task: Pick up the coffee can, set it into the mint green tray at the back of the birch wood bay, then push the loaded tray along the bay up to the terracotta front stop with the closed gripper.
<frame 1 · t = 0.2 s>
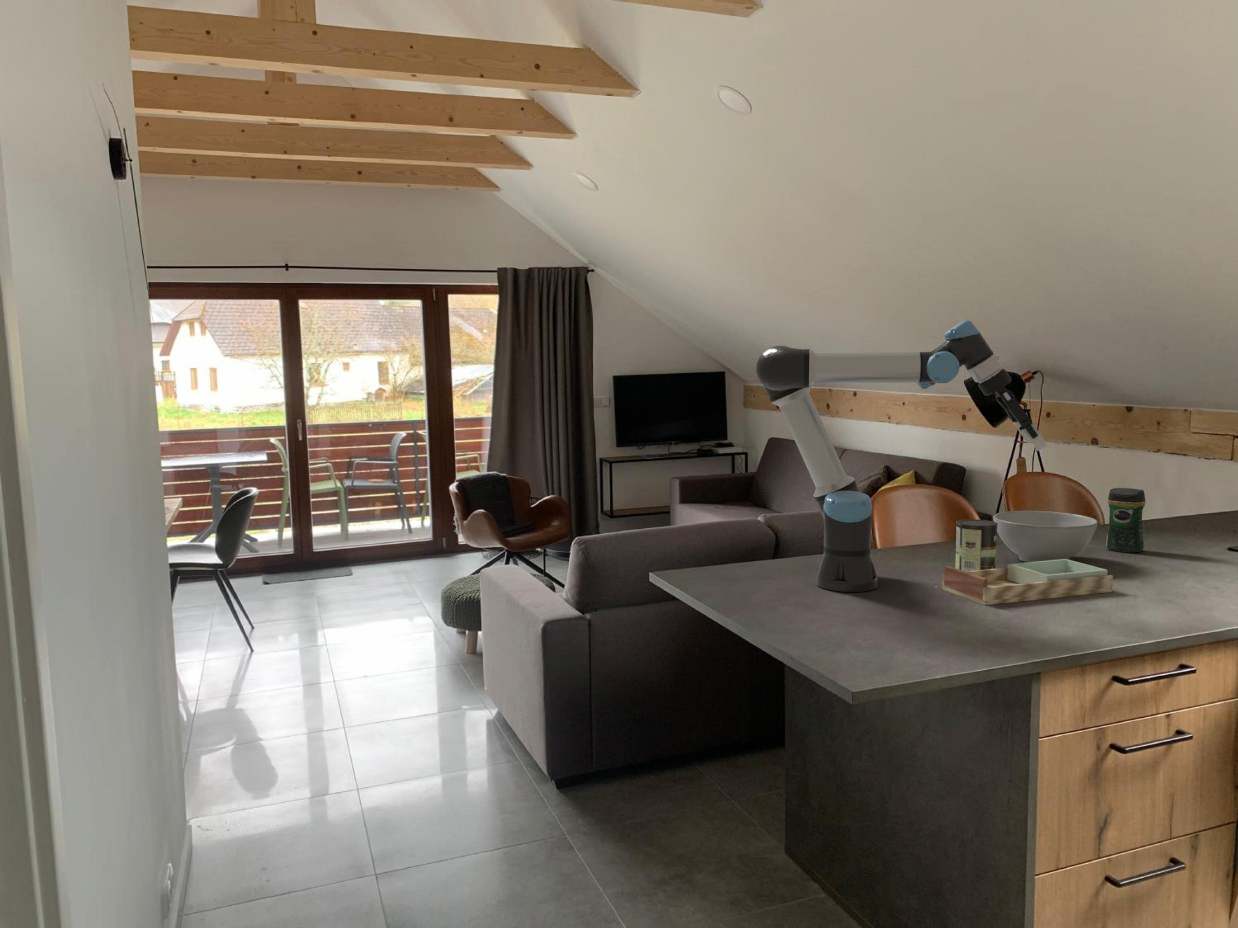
hand: (1037, 444, 236), 35 cm above the countertop, tool tilted 35°, fingers open, 13 cm apart
decorative bowl: (1042, 561, 262), on the countertop
coffee jar: (1124, 550, 274), on the countertop
bay: (1026, 590, 229), on the countertop
mint green tray: (1056, 574, 231), point 3 cm above the countertop, slide at 0.0 cm
coffee can: (975, 575, 246), on the countertop
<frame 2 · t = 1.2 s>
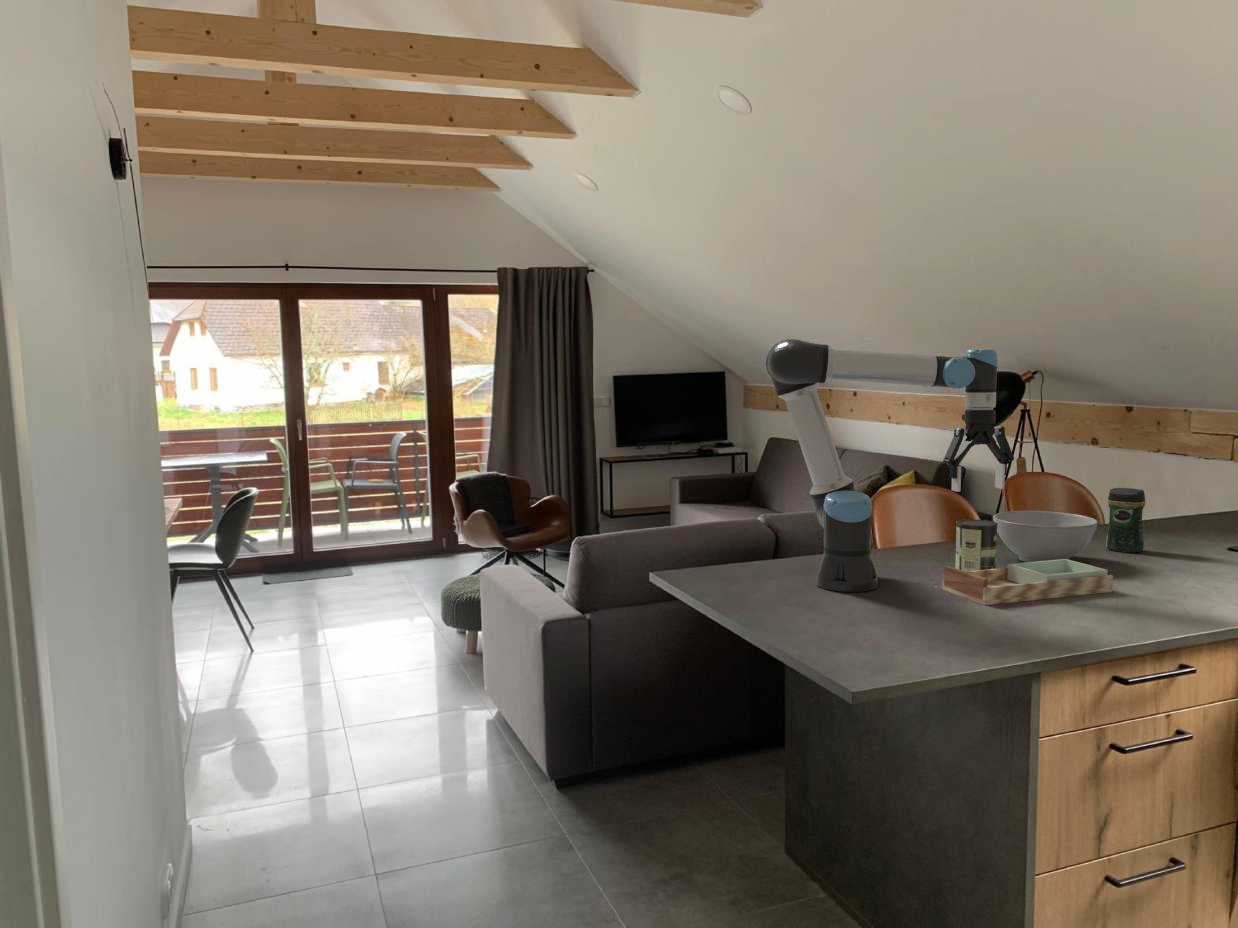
hand: (977, 489, 243), 23 cm above the countertop, tool pointing down, fingers open, 13 cm apart
nothing on the countertop moved.
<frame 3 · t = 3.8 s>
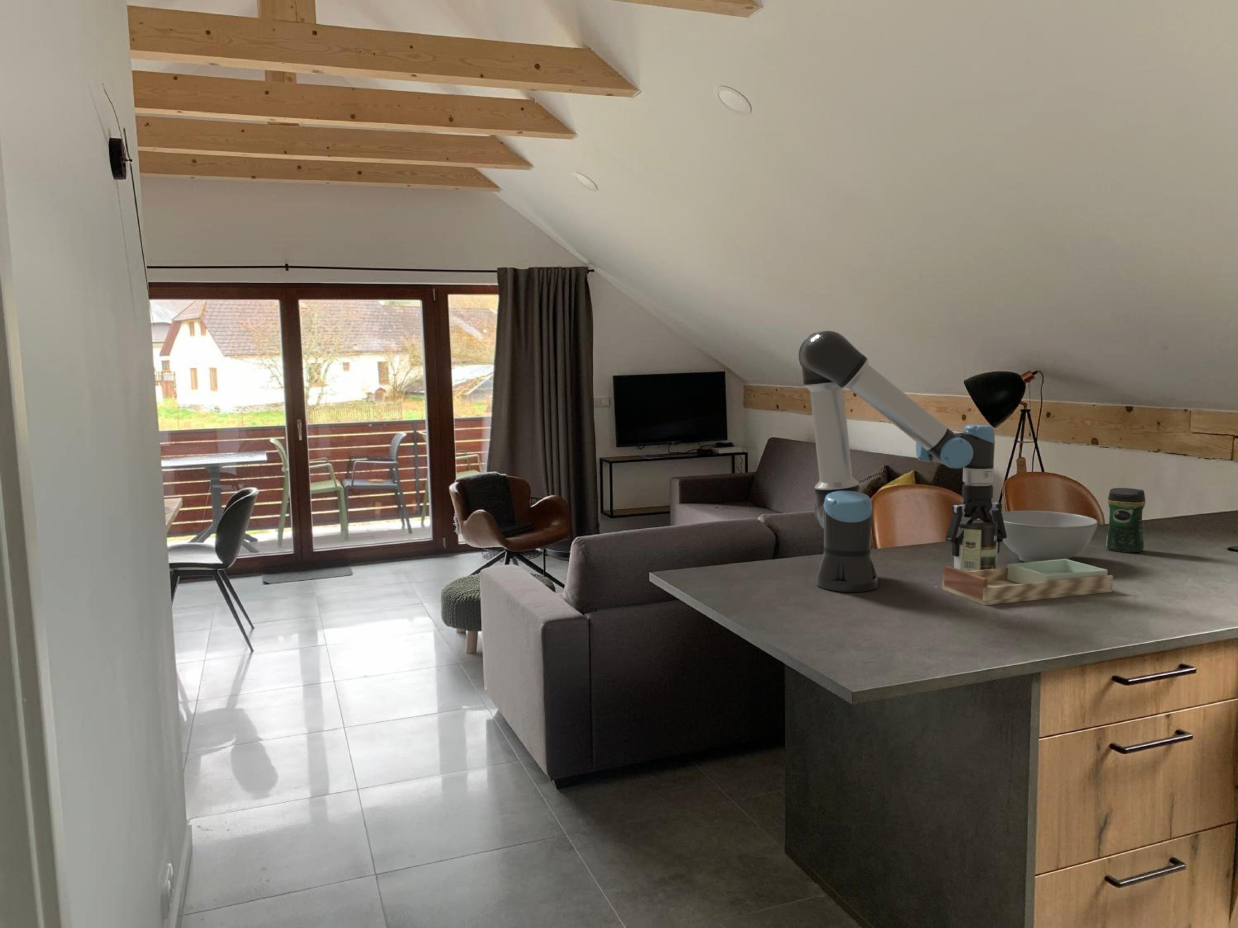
hand: (975, 566, 246), 2 cm above the countertop, tool pointing down, fingers closed on coffee can, 10 cm apart
coffee can: (975, 575, 246), on the countertop, touching gripper
everything else where it was.
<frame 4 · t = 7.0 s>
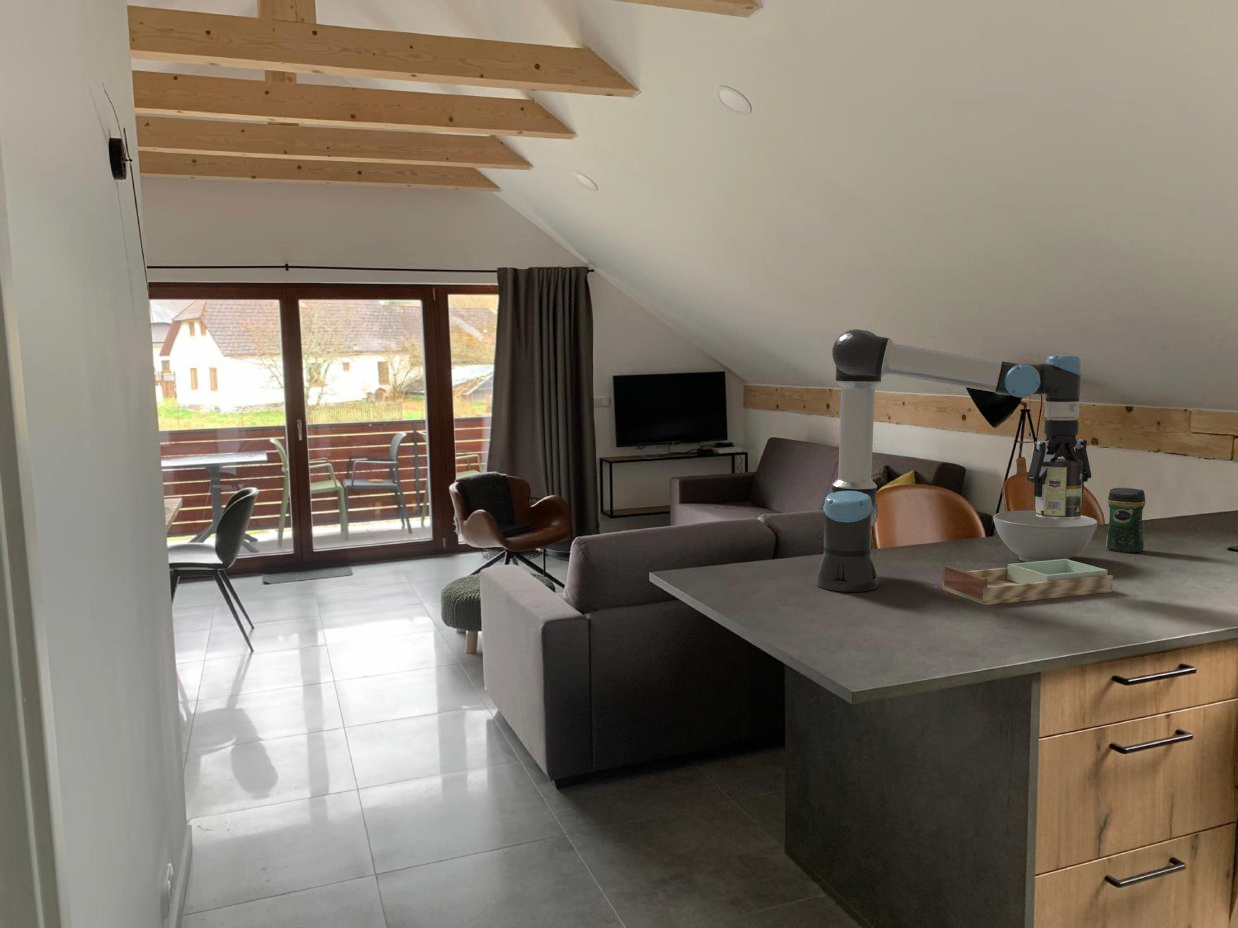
hand: (1058, 508, 229), 20 cm above the countertop, tool pointing down, fingers closed on coffee can, 10 cm apart
coffee can: (1057, 517, 229), point 18 cm above the countertop, touching gripper
everything else where it was.
when the fingers open (6 cm above the countertop, at t = 10.2 s): coffee can drops 1 cm, resting on mint green tray.
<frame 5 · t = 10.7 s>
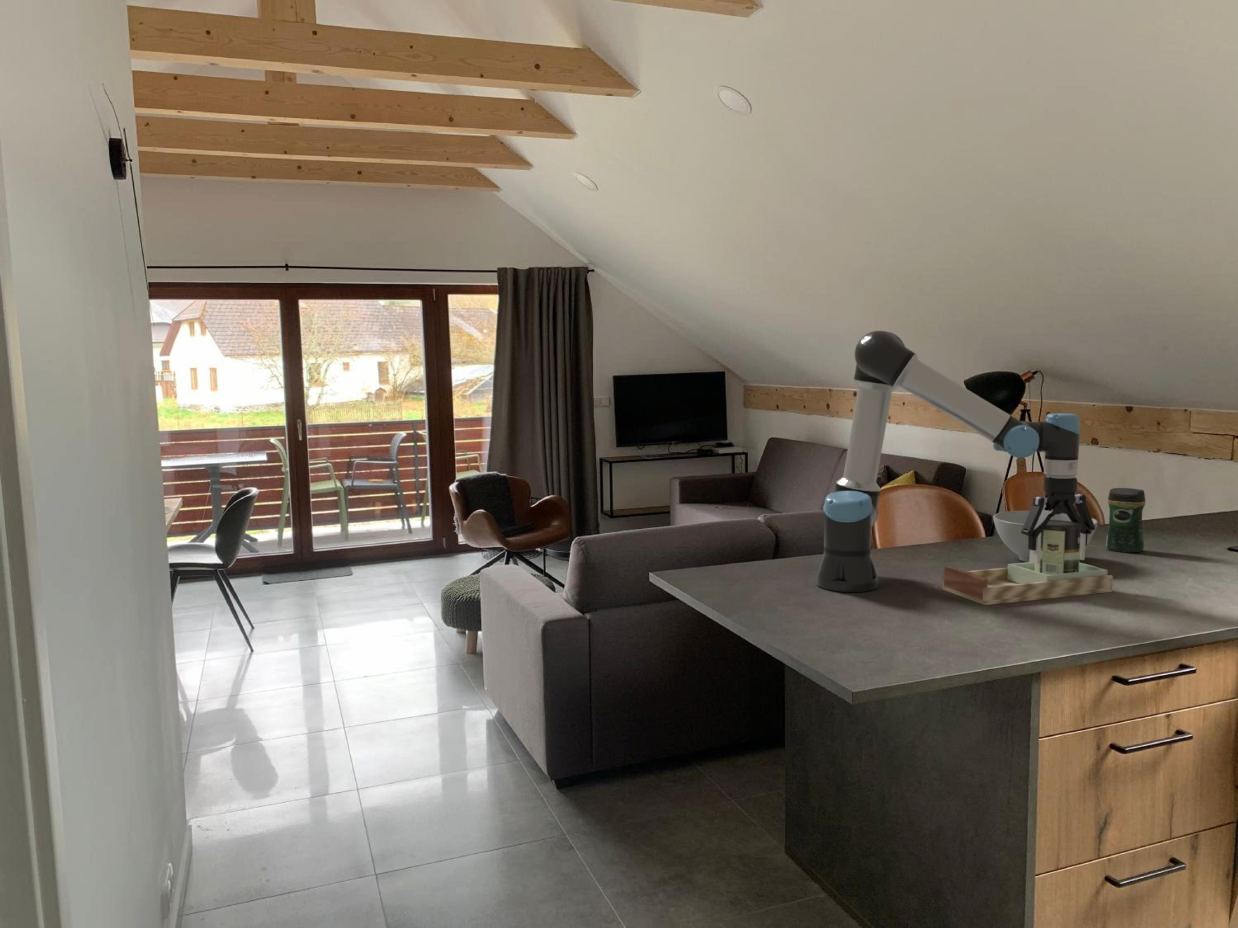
hand: (1057, 561, 230), 7 cm above the countertop, tool pointing down, fingers open, 13 cm apart
mint green tray: (1056, 574, 231), point 3 cm above the countertop, slide at 0.0 cm, touching coffee can
coffee can: (1055, 579, 231), point 2 cm above the countertop, touching mint green tray
everything else where it was.
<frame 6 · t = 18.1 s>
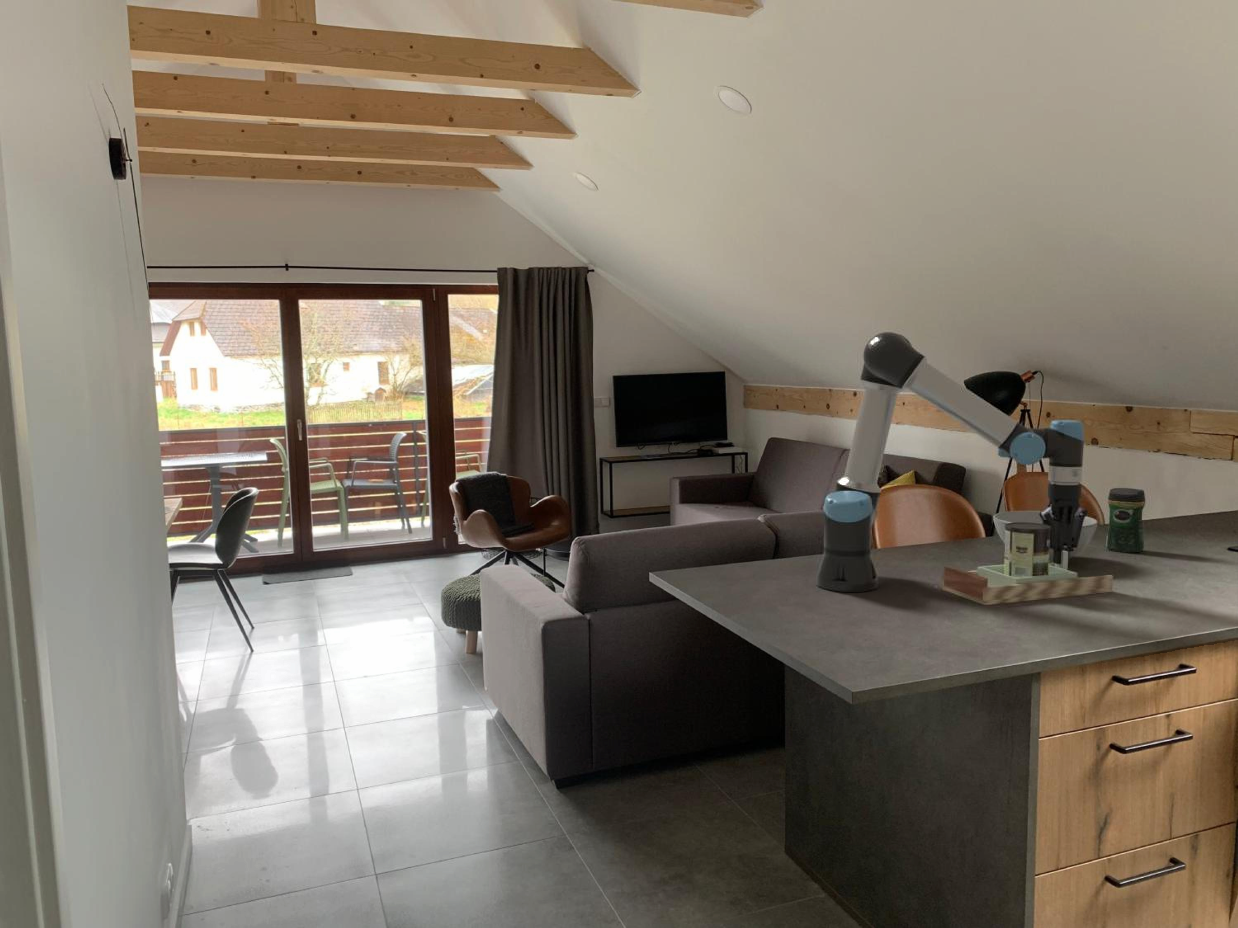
hand: (1060, 576, 231), 3 cm above the countertop, tool pointing down, fingers closed
mint green tray: (1026, 577, 228), point 3 cm above the countertop, slide at 9.2 cm, touching coffee can
coffee can: (1025, 582, 228), point 2 cm above the countertop, touching mint green tray, hand
everything else where it was.
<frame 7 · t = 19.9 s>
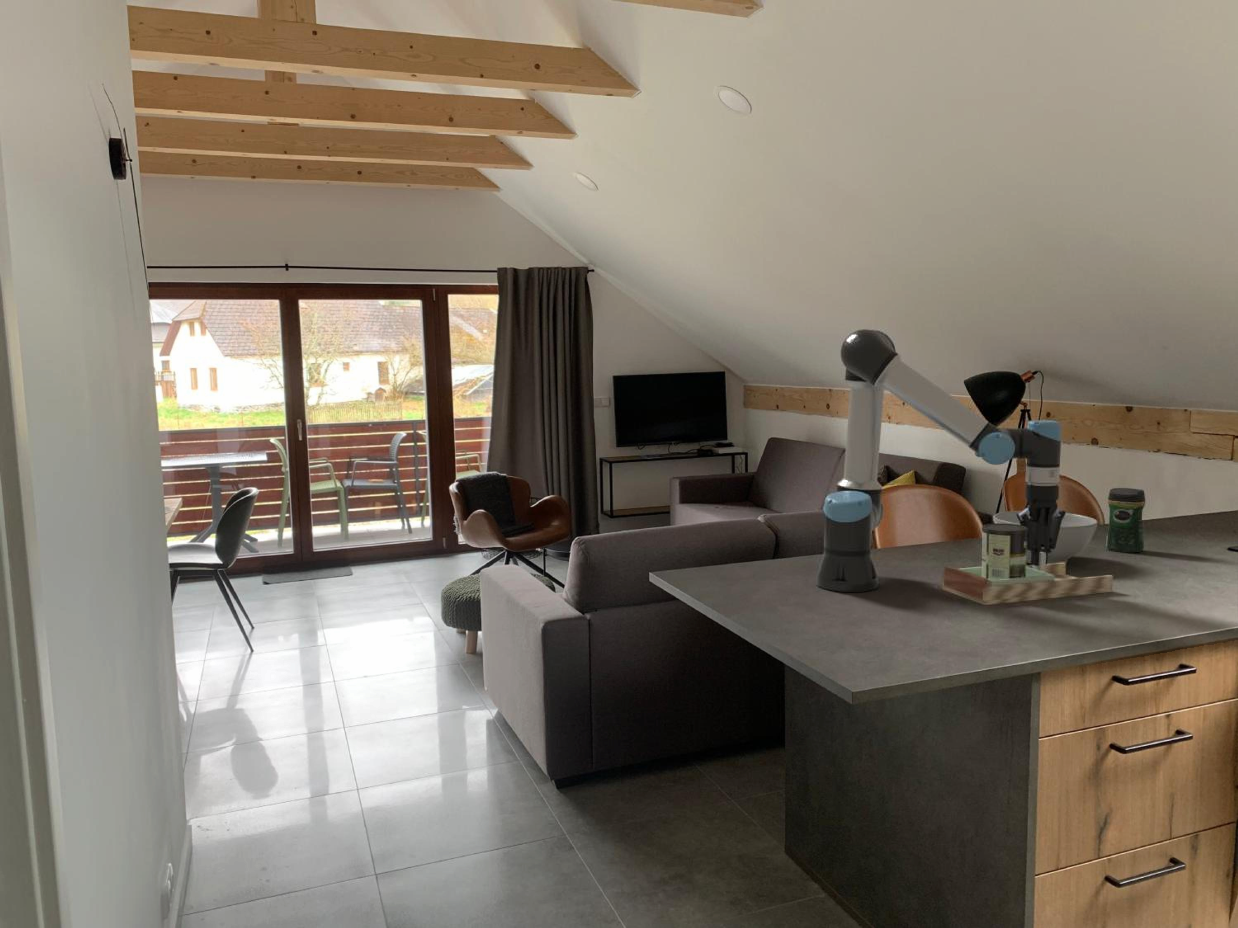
hand: (1038, 577, 229), 3 cm above the countertop, tool pointing down, fingers closed
mint green tray: (1003, 579, 226), point 3 cm above the countertop, slide at 15.8 cm, touching coffee can
coffee can: (1003, 584, 226), point 2 cm above the countertop, touching mint green tray, hand
everything else where it was.
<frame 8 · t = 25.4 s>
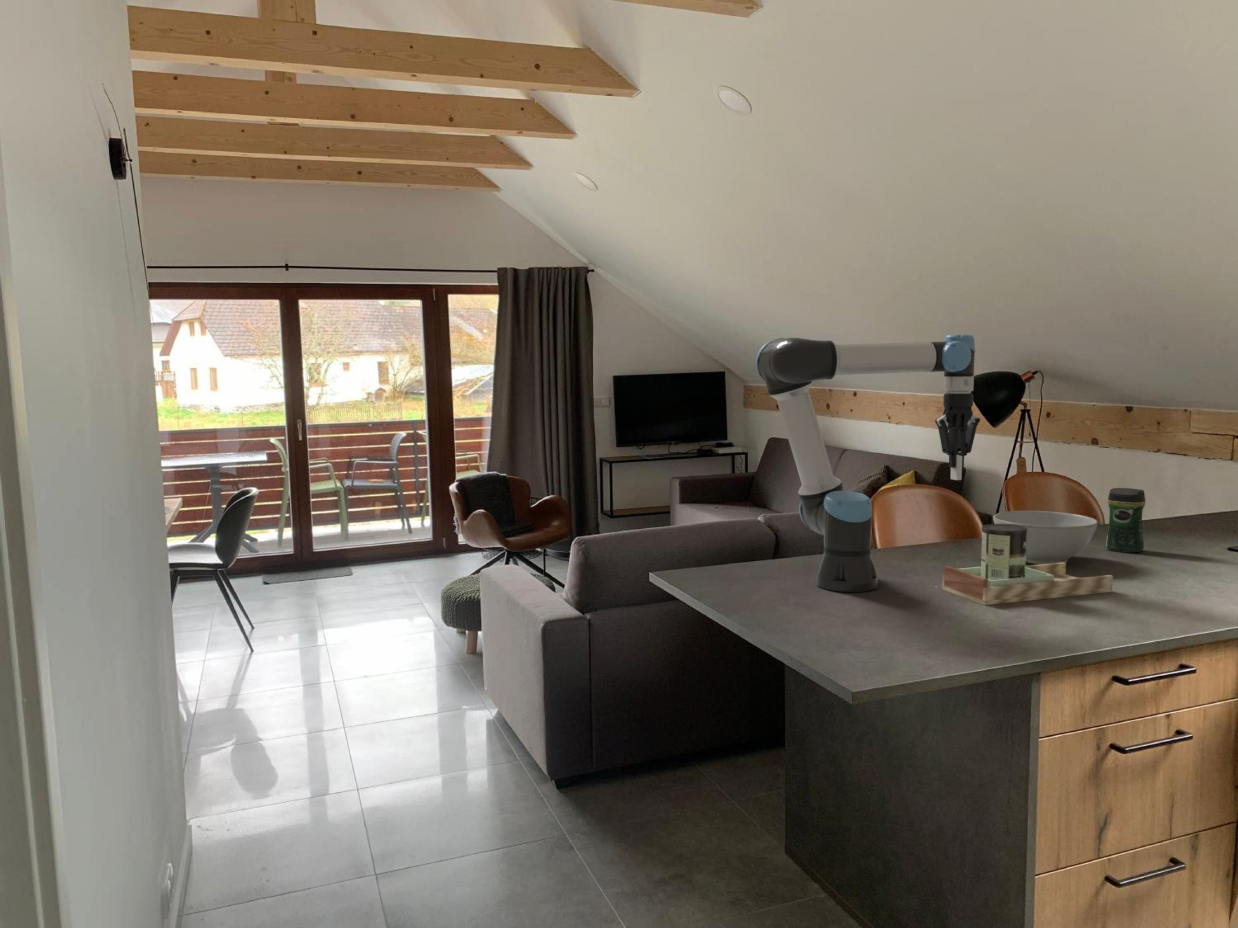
hand: (955, 479, 252), 24 cm above the countertop, tool pointing down, fingers closed
coffee can: (1002, 584, 226), point 2 cm above the countertop, touching mint green tray
everything else where it was.
at the end: mint green tray slide at 16.0 cm; coffee can inside the target area (1.1 cm from its centre), point 2.0 cm above the countertop; coffee can tilted 0° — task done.
